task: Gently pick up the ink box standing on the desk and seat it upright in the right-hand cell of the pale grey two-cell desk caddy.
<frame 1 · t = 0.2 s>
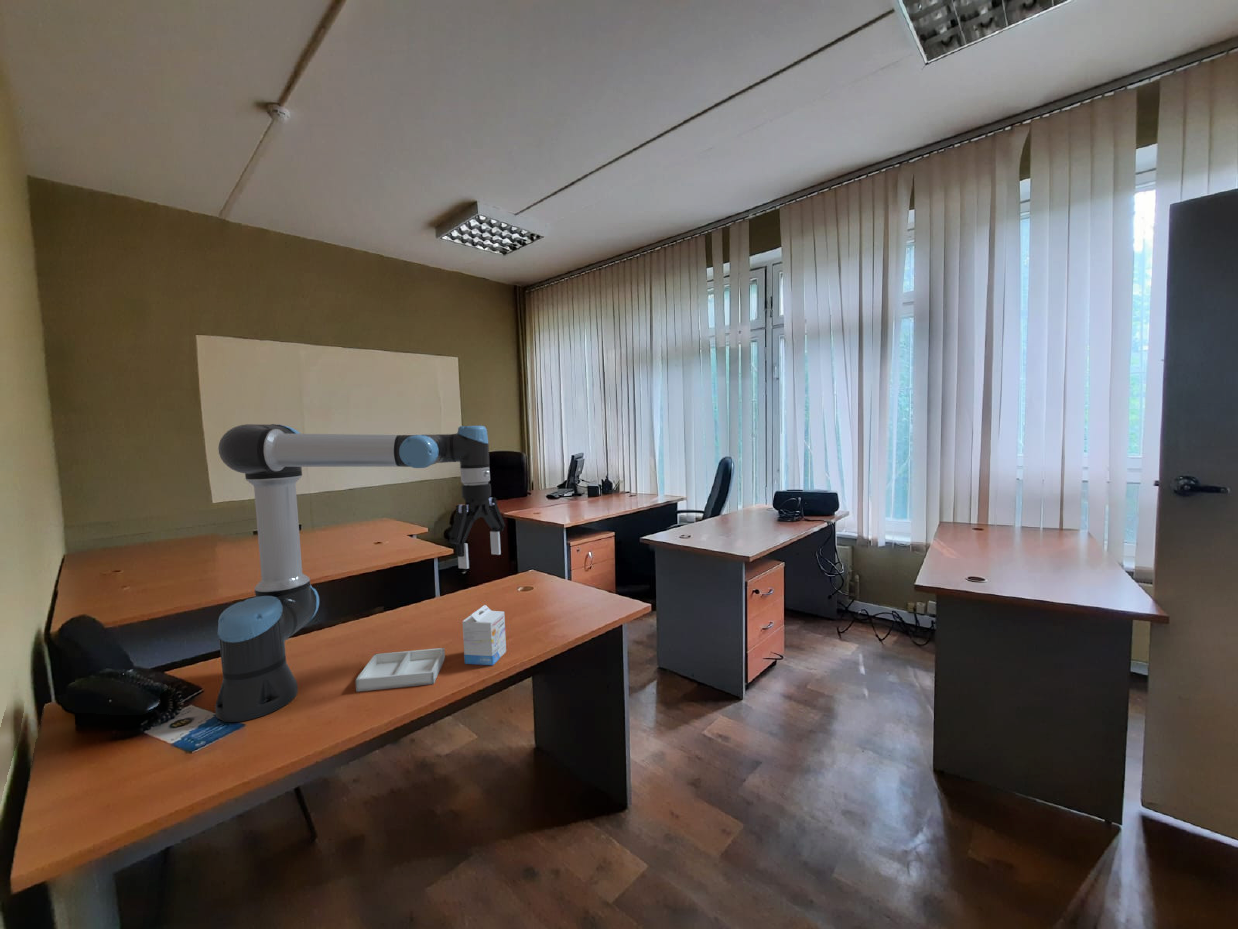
hand: (480, 561, 129), 27 cm above the table, fingers open, 13 cm apart
caddy: (403, 674, 122), on the table
ink box: (485, 658, 130), on the table
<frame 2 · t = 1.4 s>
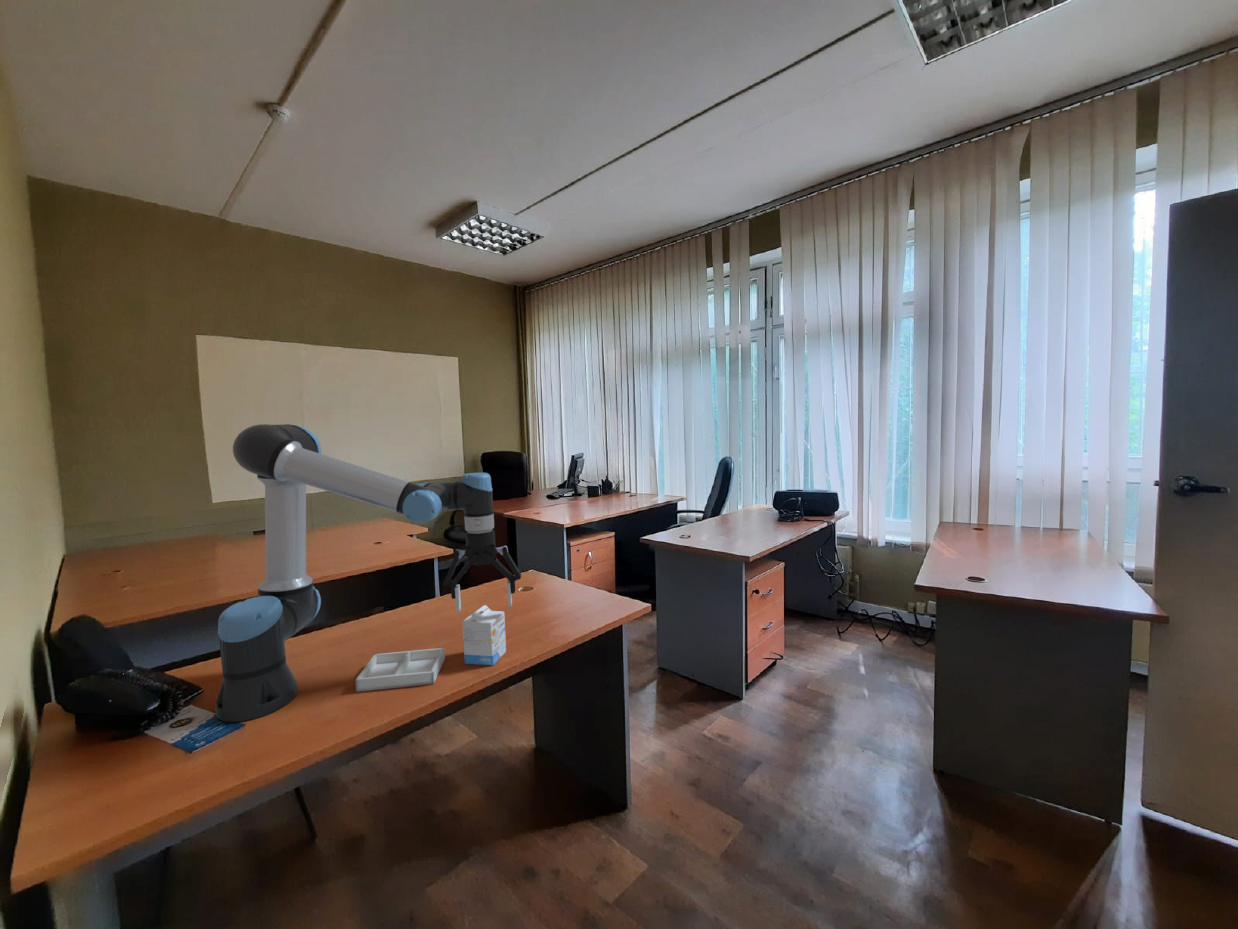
hand: (484, 607, 129), 14 cm above the table, fingers open, 13 cm apart
nothing on the table moved.
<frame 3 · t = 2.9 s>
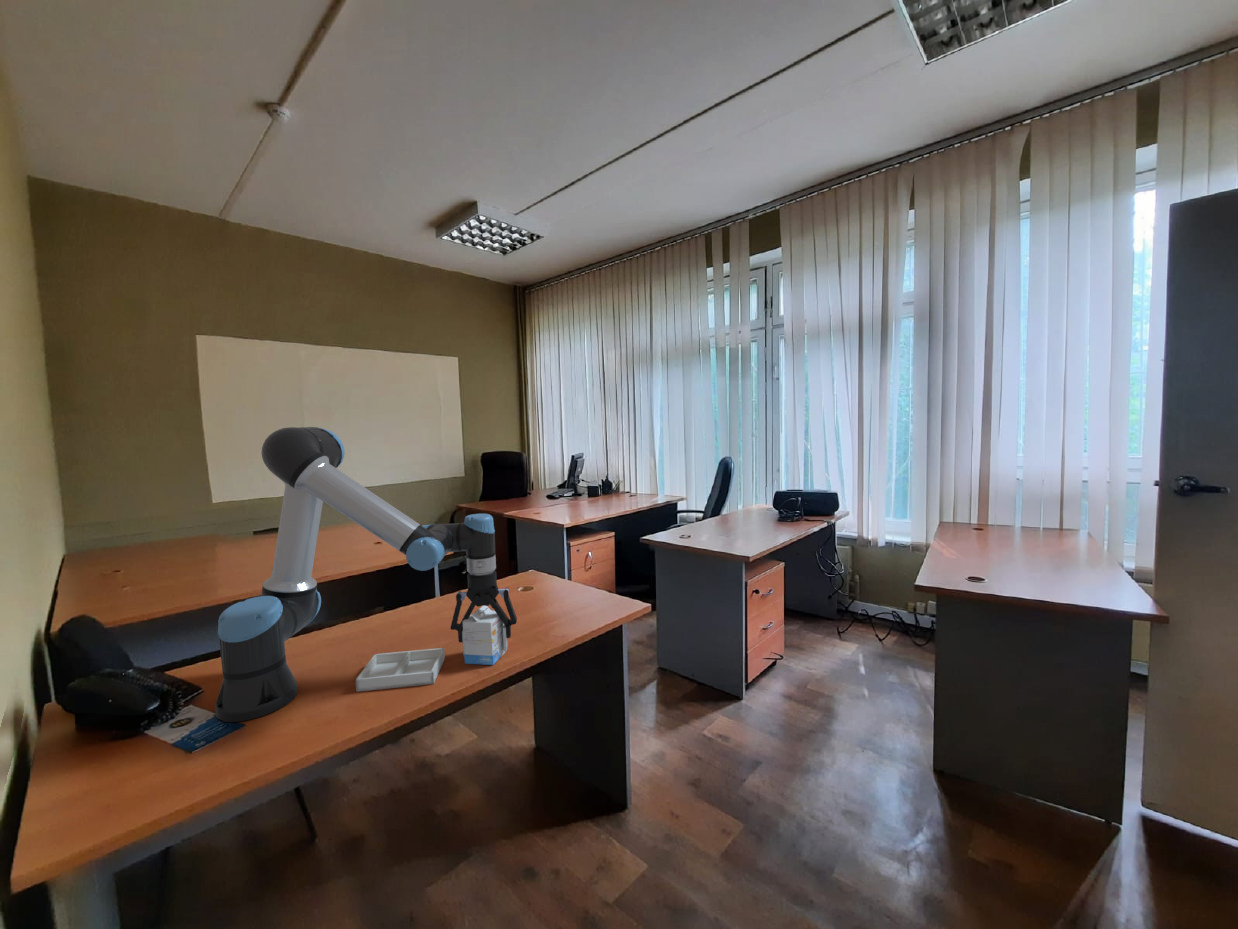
hand: (485, 651, 130), 2 cm above the table, fingers closed on ink box, 10 cm apart
ink box: (486, 657, 130), on the table, touching gripper
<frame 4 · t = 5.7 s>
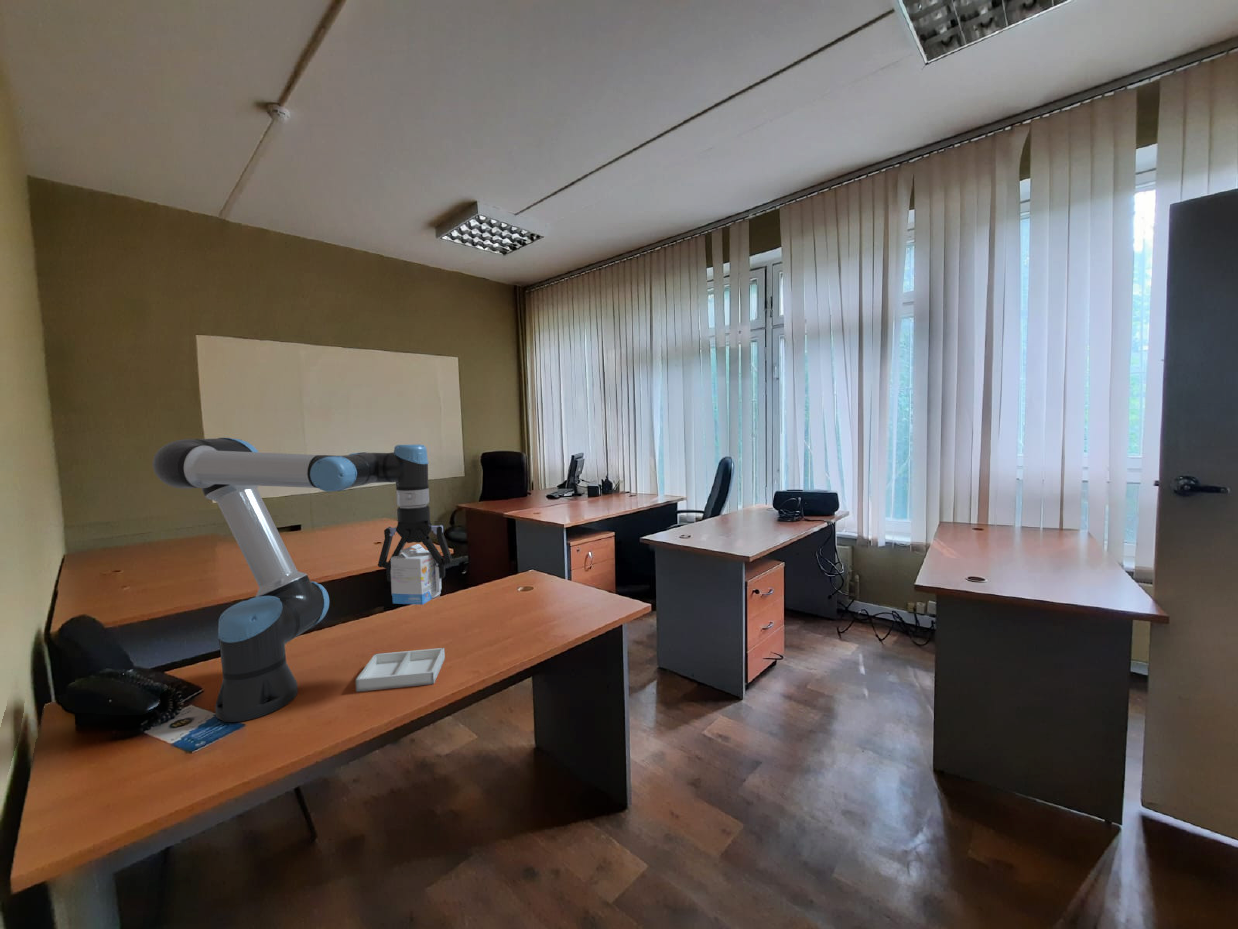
hand: (417, 591, 121), 21 cm above the table, fingers closed on ink box, 10 cm apart
ink box: (417, 599, 121), point 19 cm above the table, touching gripper
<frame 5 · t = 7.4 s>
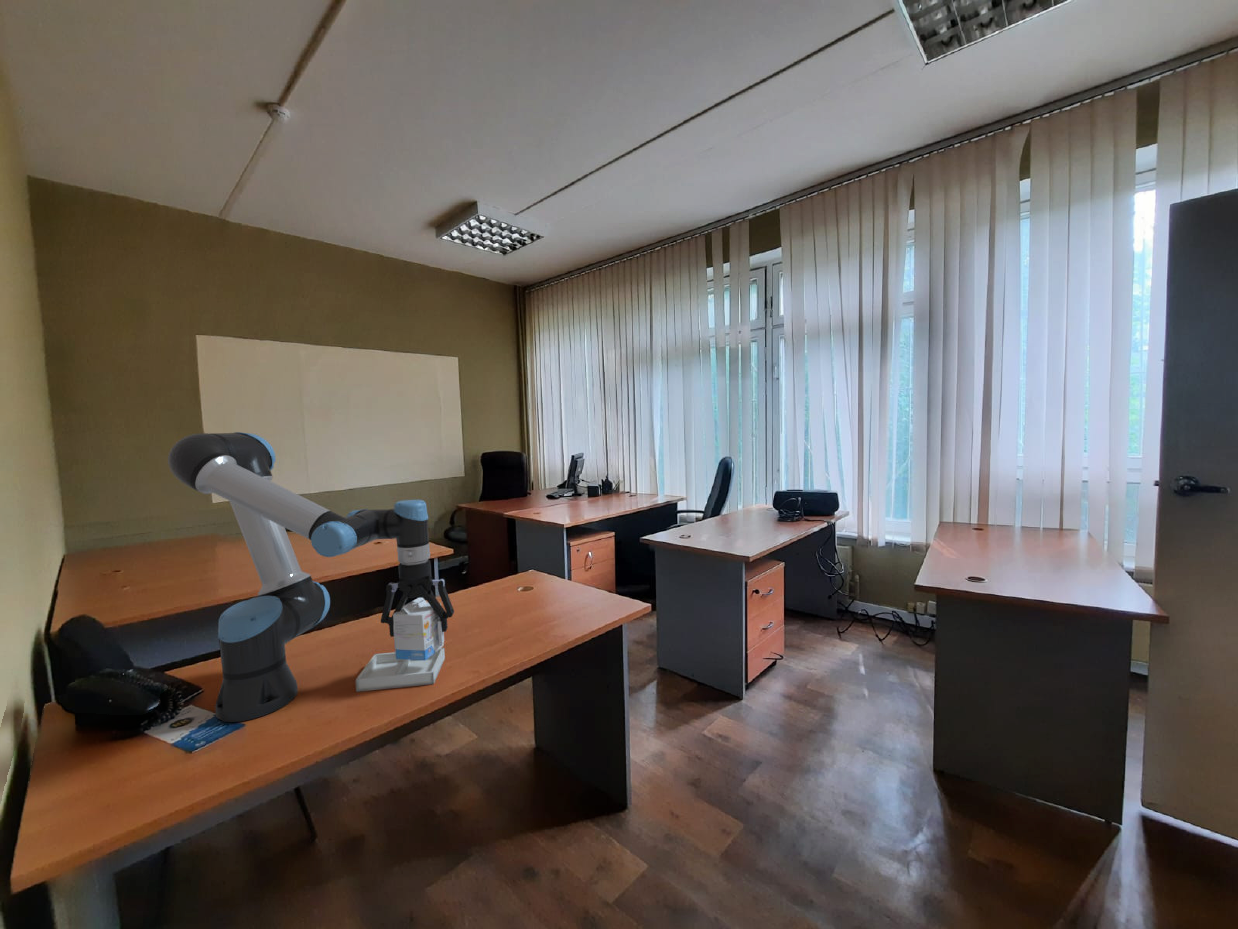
hand: (420, 645, 122), 7 cm above the table, fingers closed on ink box, 10 cm apart
ink box: (420, 653, 122), point 5 cm above the table, touching gripper
when the fingers open (5 cm above the table, at t = 8.3 s): ink box stays where it is, resting on caddy.
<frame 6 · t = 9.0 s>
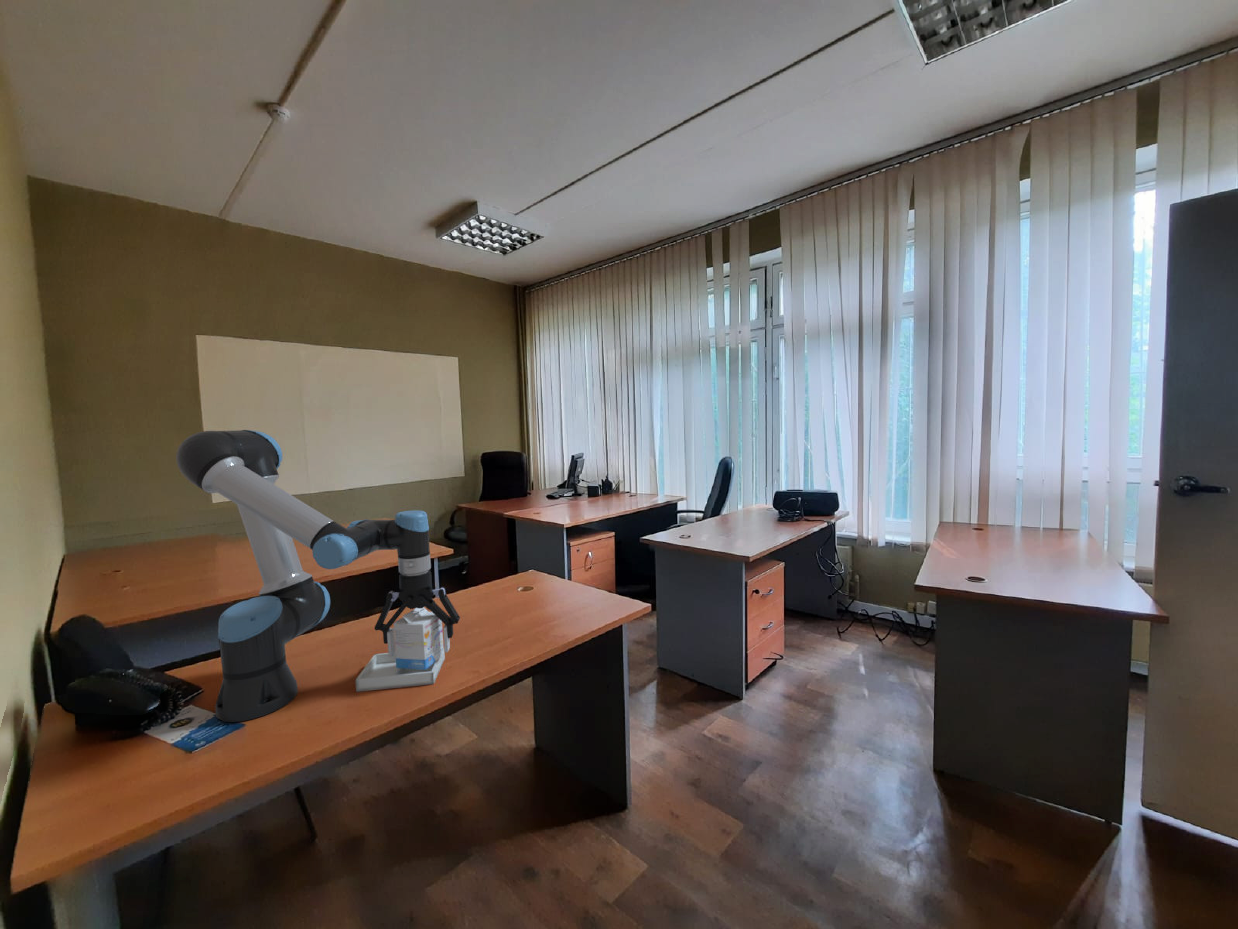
hand: (419, 652, 122), 5 cm above the table, fingers open, 13 cm apart
ink box: (420, 662, 122), point 3 cm above the table, touching caddy
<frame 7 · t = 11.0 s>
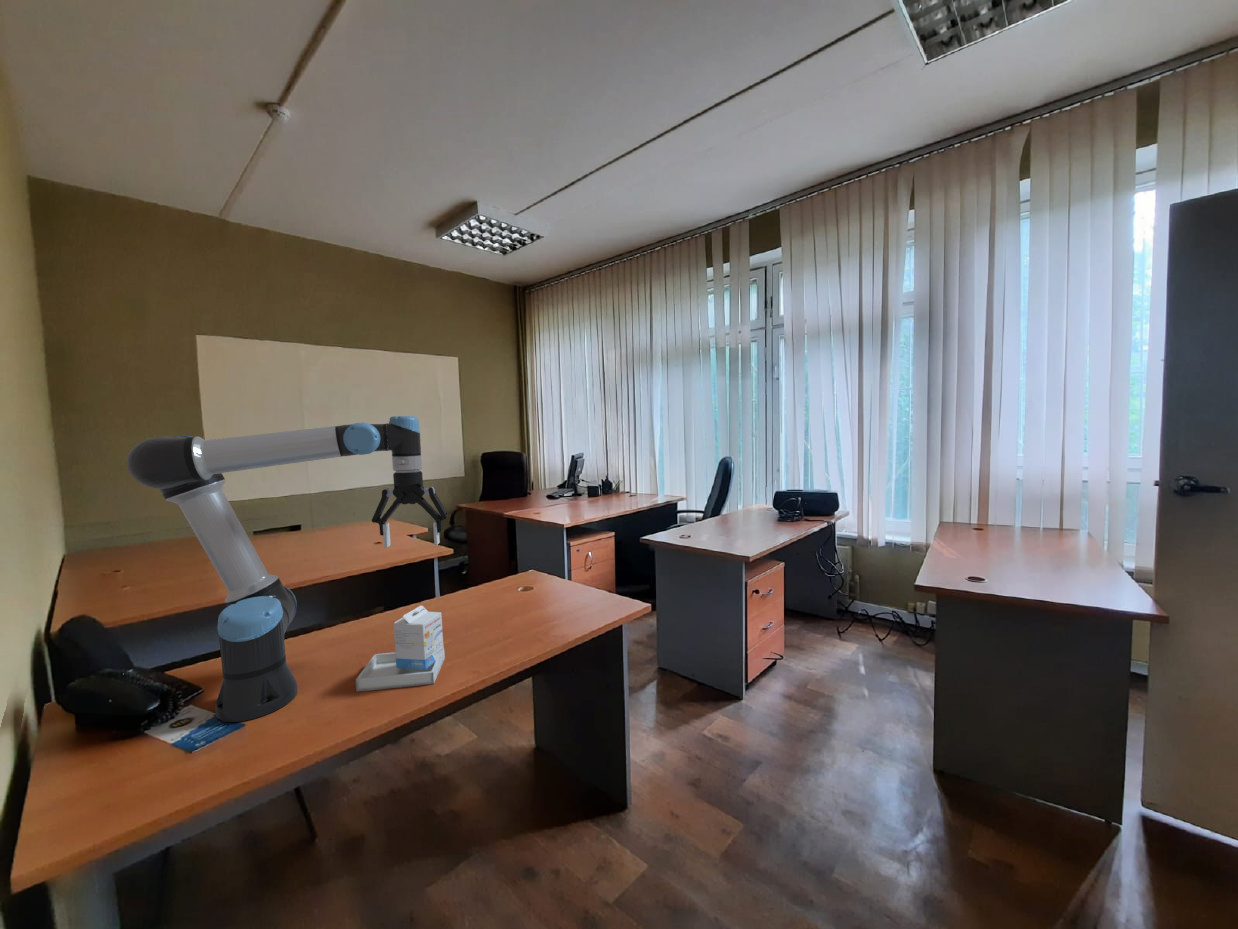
hand: (412, 545, 135), 30 cm above the table, fingers open, 13 cm apart
nothing on the table moved.
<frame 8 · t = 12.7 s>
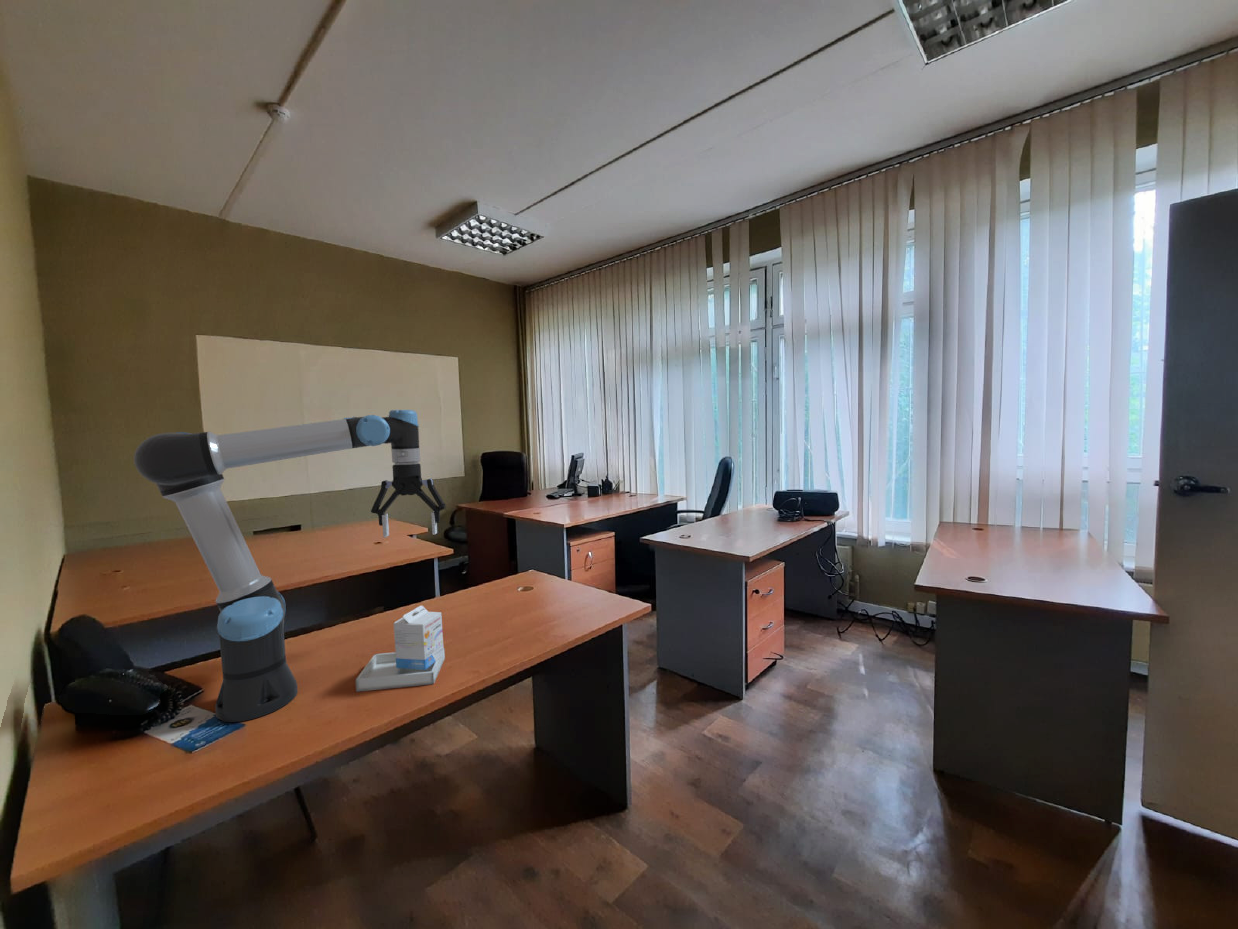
hand: (410, 535, 140), 32 cm above the table, fingers open, 13 cm apart
nothing on the table moved.
at the end: ink box inside the target area on the caddy (0.0 cm from its centre), point 2.8 cm above the caddy's base; ink box tilted 0°; the gripper is holding nothing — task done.
